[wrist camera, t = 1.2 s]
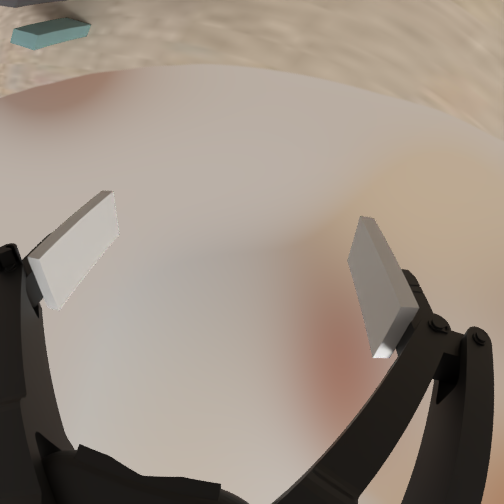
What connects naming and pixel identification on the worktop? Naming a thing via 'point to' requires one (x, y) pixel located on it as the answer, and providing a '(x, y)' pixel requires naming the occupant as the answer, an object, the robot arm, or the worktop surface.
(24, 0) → the domino
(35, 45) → the domino
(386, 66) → the worktop surface
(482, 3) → the worktop surface
